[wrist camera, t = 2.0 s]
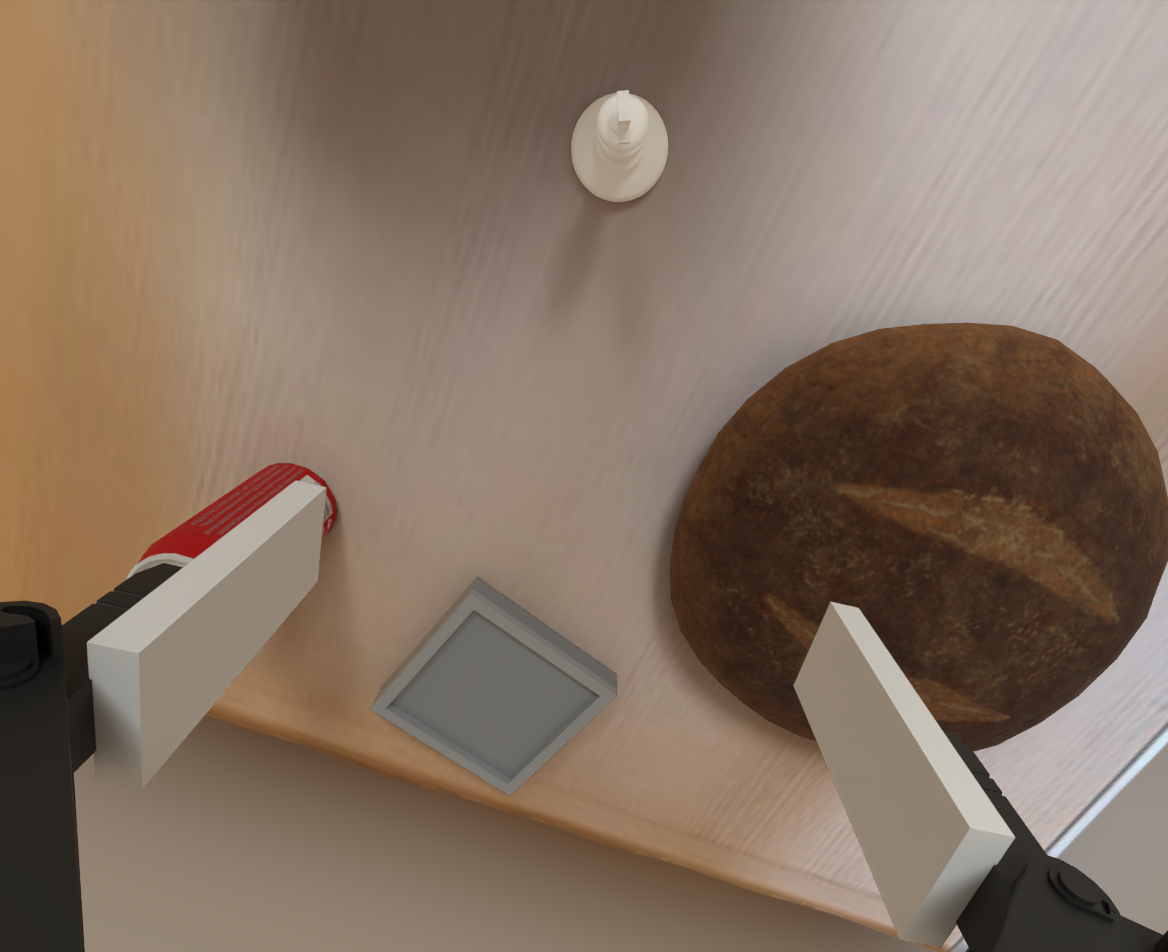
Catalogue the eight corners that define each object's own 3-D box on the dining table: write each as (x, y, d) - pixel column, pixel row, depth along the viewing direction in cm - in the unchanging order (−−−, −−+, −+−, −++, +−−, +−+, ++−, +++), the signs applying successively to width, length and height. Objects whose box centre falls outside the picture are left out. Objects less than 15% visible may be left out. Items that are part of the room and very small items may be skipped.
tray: (380, 688, 45) (369, 709, 43) (477, 577, 41) (470, 594, 39) (513, 772, 47) (509, 796, 45) (616, 674, 43) (617, 695, 42)
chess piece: (574, 205, 33) (561, 193, 23) (567, 97, 31) (550, 38, 22) (669, 198, 32) (693, 183, 23) (667, 89, 31) (693, 25, 21)
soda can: (236, 500, 40) (90, 604, 28) (285, 442, 38) (151, 528, 27) (307, 555, 41) (194, 676, 30) (357, 501, 39) (258, 607, 28)
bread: (820, 221, 33) (891, 217, 25) (1224, 434, 36) (1403, 493, 28) (590, 629, 43) (587, 723, 34) (925, 768, 46) (993, 883, 38)
